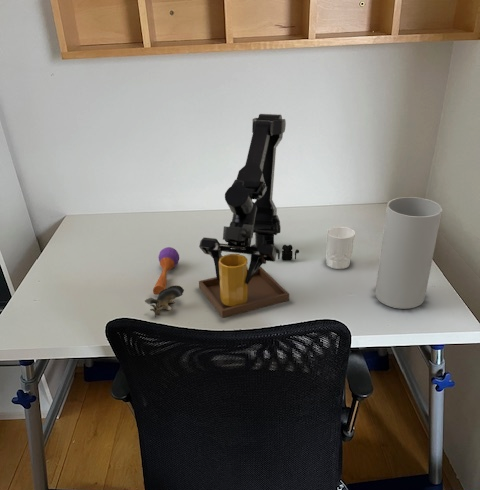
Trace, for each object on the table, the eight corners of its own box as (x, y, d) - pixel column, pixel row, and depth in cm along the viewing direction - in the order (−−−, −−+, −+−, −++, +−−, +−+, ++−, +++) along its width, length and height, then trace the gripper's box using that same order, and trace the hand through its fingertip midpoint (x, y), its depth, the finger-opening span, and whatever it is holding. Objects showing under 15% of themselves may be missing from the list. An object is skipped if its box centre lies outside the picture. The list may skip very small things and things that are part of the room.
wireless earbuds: (275, 261, 158) (275, 245, 156) (275, 257, 160) (275, 242, 158) (298, 261, 158) (299, 246, 155) (298, 257, 160) (299, 242, 157)
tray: (199, 290, 145) (198, 281, 144) (260, 275, 152) (260, 266, 150) (222, 320, 133) (222, 311, 131) (288, 303, 139) (289, 293, 137)
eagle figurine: (173, 318, 132) (191, 296, 137) (155, 297, 129) (173, 274, 135) (155, 325, 137) (172, 302, 143) (137, 304, 134) (155, 282, 140)
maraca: (145, 283, 141) (157, 245, 156) (152, 301, 144) (163, 262, 160) (166, 280, 140) (177, 241, 155) (173, 298, 143) (182, 259, 159)
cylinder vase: (366, 289, 144) (377, 200, 130) (407, 282, 146) (423, 194, 133) (389, 313, 134) (404, 220, 120) (433, 305, 136) (453, 213, 123)
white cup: (351, 271, 152) (354, 239, 147) (323, 269, 154) (325, 237, 148) (352, 258, 159) (355, 227, 153) (325, 256, 160) (327, 225, 155)
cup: (216, 296, 139) (214, 257, 132) (241, 290, 141) (240, 251, 135) (227, 309, 133) (225, 269, 127) (252, 302, 136) (251, 263, 129)
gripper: (199, 207, 130) (187, 268, 127) (274, 213, 125) (263, 277, 123) (210, 224, 140) (199, 281, 138) (280, 230, 136) (270, 289, 133)
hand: (232, 282), depth 133 cm, fingers closed on cup, 7 cm apart
